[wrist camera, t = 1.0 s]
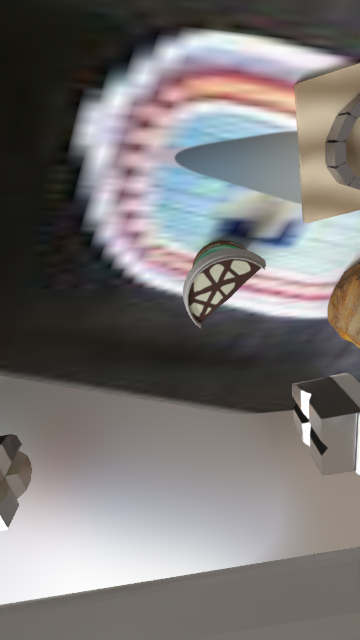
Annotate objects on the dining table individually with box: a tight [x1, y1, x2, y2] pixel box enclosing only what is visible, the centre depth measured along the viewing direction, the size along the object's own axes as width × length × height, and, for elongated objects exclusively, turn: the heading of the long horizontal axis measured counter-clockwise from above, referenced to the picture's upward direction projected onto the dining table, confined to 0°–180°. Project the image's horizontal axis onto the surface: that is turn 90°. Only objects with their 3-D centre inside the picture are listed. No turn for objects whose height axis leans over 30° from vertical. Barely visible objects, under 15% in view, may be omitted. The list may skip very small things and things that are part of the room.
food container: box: [183, 241, 266, 328], centre depth 42 cm, size 12×6×10 cm, turn 138°
